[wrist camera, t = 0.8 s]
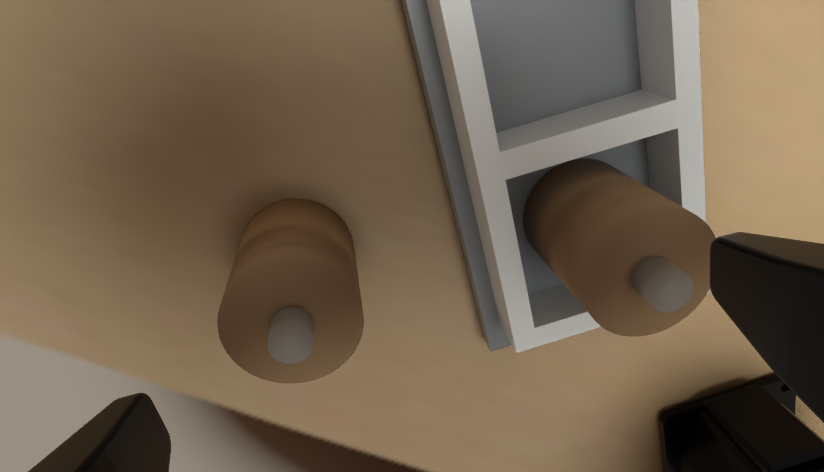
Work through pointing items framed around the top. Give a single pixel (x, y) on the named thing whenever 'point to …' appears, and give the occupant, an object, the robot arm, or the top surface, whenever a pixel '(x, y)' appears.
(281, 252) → the brown cylinder
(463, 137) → the housing
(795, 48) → the top surface
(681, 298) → the brown housed cylinder
